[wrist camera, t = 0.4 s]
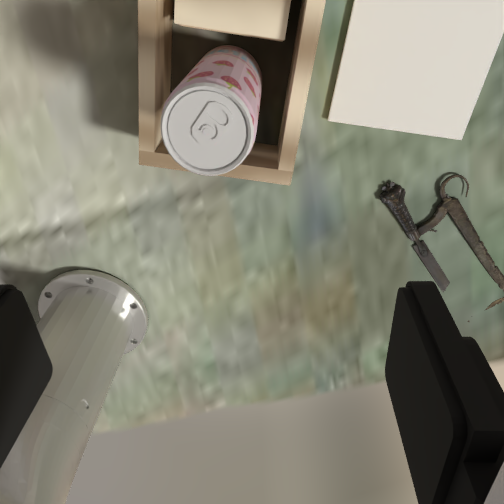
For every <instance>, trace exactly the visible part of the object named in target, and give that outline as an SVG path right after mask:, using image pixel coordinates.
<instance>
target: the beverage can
mask: <svg viewBox="0 0 504 504" xmlns="http://www.w3.org/2000/svg"><path fill="white" fill-rule="evenodd" d="M261 91H262V74H261V70H260V68H259V65H258V63H257V62H256V60H255V59H254V57H253V56H252V55H251V54H250V53H248V52H247V51H245V50H244V49H242V48H240V47H237V46H232V45H223V46H219V47H216V48H213V49H212V50H210V51H209V52H207V53H206V54H205V55H204V56H203V58H202V59H201V60H200V61H199V62H198V63H197V64H196V65H195V67H194V68H193V69H192V70H191V71H190V72H189V73H188V75H187V76H186V77H185V78H184V79H183V80H182V81H181V83H180V84H179V85H178V86H177V87H176V88H175V89H174V90H173V92H172V93H171V94H170V96H169V97H168V99H167V100H166V102H165V105H164V107H163V110H162V116H161V124H160V127H161V136H162V139H163V143H164V145H165V147H166V149H167V151H168V153H169V154H170V155H171V157H172V158H173V159H174V160H175V161H176V162H177V163H178V164H179V165H181V166H182V167H183V168H185V169H187V170H189V171H190V172H193V173H196V174H199V175H206V176H213V175H220V174H224V173H227V172H229V171H231V170H233V169H235V168H236V167H237V166H238V165H240V164H241V163H242V162H243V161H244V159H245V158H246V157H247V155H248V154H249V153H250V151H251V149H252V147H253V145H254V142H255V138H256V132H257V124H258V116H259V108H260V100H261Z"/></svg>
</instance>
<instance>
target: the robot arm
mask: <svg viewBox="0 0 504 504" xmlns="http://www.w3.org/2000/svg"><path fill="white" fill-rule="evenodd" d="M38 312H39V316H40V321H39V322H38V324H37V325H36V324H35V322H34V319H33V317H32V314H31V312H30V310H29V307H28V305H27V302H26V300H25V297H24V295H23V293H22V292H21V291H19V290H17V289H16V287H14V286H13V285H0V504H65V502H66V499H67V497H68V493H69V491H70V488H71V485H72V482H73V479H74V477H75V474H76V471H77V468H78V466H79V463H80V461H81V458H82V456H83V453H84V451H85V448H86V446H87V443H88V441H89V438H90V436H91V433H92V431H93V428H94V426H95V423H96V421H97V418H98V416H99V413H100V411H101V408H102V406H103V403H104V401H105V398H106V396H107V393H108V391H109V388H110V386H111V383H112V381H113V378H114V376H115V373H116V371H117V368H118V366H119V363H120V361H121V358H122V356H123V354H126V353H128V352H130V351H132V350H134V349H135V348H136V347H137V346H138V345H139V344H140V343H141V342H142V340H143V339H144V336H145V334H146V331H147V328H148V313H147V309H146V307H145V305H144V303H143V301H142V299H141V298H140V297H139V295H138V294H137V293H136V292H135V291H134V290H133V289H132V288H131V287H130V286H128V285H127V284H125V283H124V282H123V281H121V280H119V279H117V278H115V277H113V276H111V275H108V274H105V273H102V272H98V271H92V270H74V271H68V272H65V273H63V274H60V275H58V276H56V277H55V278H53V279H52V280H51V281H50V282H49V283H48V284H47V285H46V286H45V288H44V289H43V291H42V292H41V294H40V297H39V300H38ZM385 376H386V382H387V386H388V390H389V393H390V397H391V401H392V405H393V409H394V412H395V416H396V419H397V423H398V427H399V431H400V435H401V438H402V443H403V446H404V450H405V454H406V457H407V462H408V465H409V469H410V473H411V477H412V480H413V484H414V488H415V492H416V496H417V499H418V503H419V504H504V392H503V390H502V388H501V386H500V384H499V382H498V381H497V379H496V377H495V375H494V373H493V371H492V369H491V367H490V366H489V364H488V362H487V360H486V358H485V356H484V354H483V353H482V351H481V349H480V347H479V345H478V344H477V342H476V341H475V339H473V338H472V337H462V336H461V334H460V332H459V330H458V328H457V326H456V324H455V322H454V320H453V318H452V316H451V314H450V312H449V310H448V308H447V306H446V304H445V302H444V300H443V298H442V296H441V294H440V292H439V290H438V288H437V286H436V284H435V283H434V282H433V281H409V282H407V284H406V287H402V288H399V289H398V293H397V298H396V305H395V311H394V317H393V323H392V329H391V335H390V341H389V347H388V353H387V359H386V365H385Z"/></svg>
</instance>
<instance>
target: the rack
mask: <svg viewBox="0 0 504 504" xmlns="http://www.w3.org/2000/svg"><path fill="white" fill-rule="evenodd" d="M325 2H326V0H302V1H301V7H300V14H299V20H298V26H297V32H296V38H295V44H294V50H293V56H292V62H291V68H290V74H289V80H288V86H287V92H286V98H285V104H284V110H283V116H282V122H281V128H280V134H279V140H278V146H276V145H269V144H262V143H255V142H254V145H253V147H252V149H251V151H250V153H249V154H248V155H247V157H246V158H245V159H244V161H243V162H242V163H241V164H240V165H238V166H237V167H236V168H235V169H233V170H231V171H229V172H227V173H224V174H220V175H218V176H226V177H233V178H240V179H247V180H255V181H262V182H269V183H276V184H283V185H290V184H291V179H292V174H293V169H294V164H295V158H296V153H297V148H298V143H299V137H300V132H301V127H302V122H303V117H304V111H305V106H306V101H307V96H308V90H309V85H310V80H311V75H312V69H313V64H314V59H315V54H316V49H317V43H318V38H319V33H320V28H321V22H322V17H323V12H324V7H325ZM172 23H173V0H138V79H139V165H146V166H154V167H161V168H168V169H175V170H182V171H189V170H187V169H185V168H183V167H182V166H181V165H179V164H178V163H177V162H176V161H175V160H174V159H173V158H172V157H171V155H170V154H169V153H168V151H167V149H166V147H165V145H164V143H163V139H162V136H161V127H160V124H161V116H162V110H163V107H164V105H165V102H166V100H167V99H168V97H169V96H170V88H171V55H172Z"/></svg>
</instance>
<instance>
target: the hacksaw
mask: <svg viewBox="0 0 504 504" xmlns="http://www.w3.org/2000/svg"><path fill="white" fill-rule="evenodd" d="M454 177H461V178H463V179H464V180H465V181H466V183H467V192H466V197H467V193H468V189H469V184H468V182H467V180H466V178H464V177H463V176H462V175H451V176H449V177H448V178H446V179H445V180H444V181H443V182H442V184H441V186H440V195H441V199H442V200H443V201H442V202H441V204H440V205H439V206H437V210H436V212H435V213H434V215H433V216H432V217H431V218H430V219H429V220H428V221H426V222H424V223H423V224H421V225H419V226H418V227H417V226H416V225H415V224H414V222H413V220H412V218H411V215H410V214H409V211H408V209H407V207H406V205H405V203H404V196H405V190H404V189H403V188H402V187H401V186H400V185H395V183H394V182H391V183H390V185H389V184H388V183H386V184H387V187H386V186H384V187H382V190H384V192H383V193H381V194H380V199H381V200H382V202H383V203H386V204H387V205H388V206H389V207H390V209H391V210H392V212H393V213H394V215H395V216H396V217H397V219H398V220H399V222H400V223H401V225H402V227H403V228H404V230H405V233H407V235H408V237H409V239H410V240H412V241H415V242H416V245H415V246H413V247H414V250H415V251H416V252H417V254H418V255H419V257H420V258H421V259H422V262H423V263H424V264H425V266H426V267H427V270H428V271H429V272H430V274H431V275H432V276H433V279H434V280H435V281H436V283H437V285H438V286H439V287H440V289H441V290H444V291H446V290H445V289H446V288H447V286H448V285H449V283H450V282H449V280H448V279H447V277H446V276H445V274H444V272H443V271H442V269H441V268H440V266H439V264H438V263H437V261H436V260H435V258H434V257H433V255H432V253H431V252H430V250H429V249H428V247H427V245H426V244H425V242H424V241H421V242H420V241H419V237H420V236H421V235H422V234H424V233H426V232H427V231H434V232H436V231H437V230H430V229H432V228H433V227H435V226H436V225H437V224H438V223H439V222H440V221H441V220H442V219H443V218H444V217H445V215H446V214H447V212H449V214H450V215H451V217H452V218H453V220H454V222H455V223H456V225H457V226H458V228H459V229H460V231H461V232H462V234H463V236H464V237H465V239H466V240H467V242H468V243H469V245H470V246H471V248H472V249H473V251H474V252H475V254H476V256H477V257H478V259H479V260H480V262H481V263H482V265H483V266H484V268H485V269H486V270H487V272H488V273H489V275H490V276H491V277H492V278H493V280H494V281H495V282H496V283H497V284H498V285H499V287H500V288H501V289H503V291H504V275H503V274H502V273H501V271H500V270H499V269H498V268H497V266H495V265H494V264H495V263H494V261H493V260H492V258H491V257H490V255H489V254H488V253H487V249H486V248H485V247H484V245H483V244H484V243H483V242H482V241H480V239H479V236H478V235H477V232H476V231H475V229H474V227H473V225H472V224H471V222H470V220H469V218H468V216H467V214H466V212H465V211H464V209H463V207H462V206H461V204H460V202H459V200H458V199H456V198H451V197H449V196H448V195H447V194H445V189H444V188H445V185H446V183H447V182H448V181H449V180H450V179H452V178H454ZM444 291H443V292H444ZM502 301H504V297H503V298H500V299H498V300H496V301H494V302H493V303H491V304H490V305H489V306H488V308H487V309H489V308H491V307H493V306H495V305H496V304H499V303H502ZM487 309H486V310H487ZM484 311H485V310H484ZM471 317H472V316H471ZM468 322H469V321H468Z"/></svg>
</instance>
